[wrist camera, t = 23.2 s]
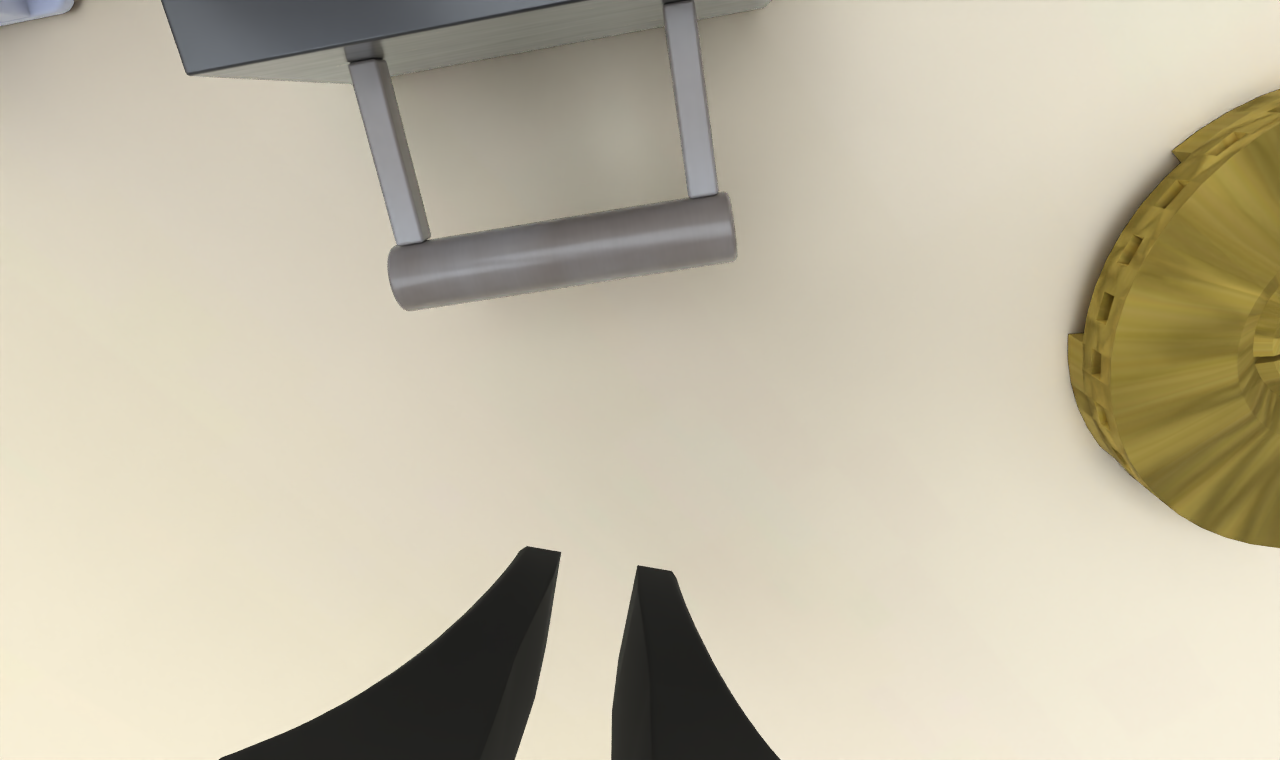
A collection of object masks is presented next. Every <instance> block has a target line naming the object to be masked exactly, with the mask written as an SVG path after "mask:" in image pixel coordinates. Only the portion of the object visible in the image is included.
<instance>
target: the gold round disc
mask: <svg viewBox="0 0 1280 760" xmlns="http://www.w3.org/2000/svg"><path fill="white" fill-rule="evenodd" d="M1172 152H1173V153H1174V155H1175V156H1176V157H1177V158H1178V160H1179V161H1180V162H1181V163H1180V164H1179V165H1178V166H1177V167H1176V168H1175V169H1174V170H1172V171H1171V172H1170V173H1169V174H1168V175H1167V176H1166V177H1165V178H1164V179H1163V180H1162V181H1161V183H1160V184H1159V185H1158V186H1157V187H1156V188H1155V189H1154V190H1153V192H1152V193H1151V194H1150V195H1149V196H1148V197H1147V198H1146V200H1145V201H1144V202H1143V203H1142V204H1141V206H1140V207H1139V208H1138V210H1137V211H1136V213H1135V214H1134V215H1133V217H1132V218H1131V220H1130V221H1129V223H1128V224H1127V225H1126V227H1125V228H1124V230H1123V231H1122V233H1121V234H1120V236H1119V238H1118V240H1117V242H1116V243H1115V245H1114V247H1113V249H1112V251H1111V252H1110V254H1109V256H1108V258H1107V260H1106V262H1105V264H1104V267H1103V269H1102V271H1101V274H1100V276H1099V278H1098V281H1097V283H1096V286H1095V288H1094V292H1093V295H1092V299H1091V302H1090V306H1089V309H1088V313H1087V317H1086V323H1085V330H1084V333H1077V334H1068V363H1069V371H1070V378H1071V385H1072V388H1073V392H1074V395H1075V399H1076V402H1077V406H1078V408H1079V410H1080V413H1081V415H1082V417H1083V419H1084V421H1085V423H1086V426H1087V428H1088V429H1089V431H1090V432H1091V434H1092V435H1093V437H1094V438H1095V440H1096V441H1097V443H1098V444H1099V446H1100V447H1102V448H1103V449H1104V450H1105V451H1106V452H1108V453H1109V454H1110V455H1111V456H1113V457H1114V458H1115V459H1116V460H1117V461H1118V462H1119V463H1120V465H1121V466H1122V467H1123V468H1124V469H1125V470H1126V471H1127V472H1128V473H1129V474H1130V475H1131V476H1132V477H1133V478H1134V479H1136V480H1137V481H1138V482H1139V483H1141V484H1142V485H1143V486H1144V487H1145V488H1147V489H1148V490H1149V491H1150V492H1151V493H1153V494H1154V495H1155V496H1156V497H1158V498H1159V499H1160V500H1161V501H1162V502H1164V503H1165V504H1166V505H1168V506H1169V507H1170V508H1171V509H1173V510H1174V511H1175V512H1176V513H1178V514H1179V515H1180V516H1182V517H1184V518H1186V519H1187V520H1189V521H1191V522H1192V523H1194V524H1196V525H1198V526H1199V527H1201V528H1204V529H1206V530H1208V531H1211V532H1213V533H1216V534H1218V535H1221V536H1223V537H1226V538H1230V539H1234V540H1237V541H1241V542H1245V543H1249V544H1254V545H1261V546H1268V547H1276V548H1280V89H1279V90H1276V91H1273V92H1270V93H1268V94H1265V95H1262V96H1260V97H1258V98H1256V99H1254V100H1252V101H1250V102H1247V103H1245V104H1243V105H1241V106H1239V107H1237V108H1235V109H1233V110H1231V111H1229V112H1227V113H1226V114H1224V115H1223V116H1221V117H1219V118H1218V119H1216V120H1214V121H1213V122H1211V123H1210V124H1208V125H1206V126H1205V127H1203V128H1202V129H1200V130H1199V131H1197V132H1196V133H1195V134H1193V135H1192V136H1191V137H1189V138H1188V139H1187V140H1185V141H1184V142H1183V143H1182V144H1180V145H1179V146H1178V147H1176V148H1175V149H1174V150H1172Z"/></svg>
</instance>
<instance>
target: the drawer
mask: <svg viewBox="0 0 1280 760" xmlns="http://www.w3.org/2000/svg"><path fill="white" fill-rule="evenodd" d="M771 1H772V0H161V2H162V5H163V8H164V10H165V13H166V16H167V19H168V22H169V25H170V28H171V31H172V34H173V37H174V40H175V43H176V46H177V49H178V51H179V54H180V57H181V60H182V63H183V66H184V69H185V72H186V74H187V75H189V76H200V77H220V78H240V79H260V80H280V81H300V82H320V83H340V84H353V87H354V91H355V94H356V98H357V102H358V105H359V109H360V112H361V116H362V120H363V123H364V127H365V131H366V134H367V138H368V142H369V145H370V149H371V153H372V156H373V160H374V164H375V167H376V171H377V175H378V178H379V182H380V186H381V189H382V193H383V197H384V200H385V204H386V208H387V211H388V215H389V219H390V222H391V226H392V230H393V233H394V237H395V241H396V244H397V245H396V246H394V247H393V248H391V250H390V252H389V255H388V276H389V281H390V285H391V289H392V292H393V294H394V297H395V299H396V301H397V302H398V304H399V305H400V306H401V308H403V309H404V310H406V311H416V310H423V309H429V308H436V307H442V306H449V305H455V304H462V303H468V302H475V301H481V300H488V299H494V298H501V297H507V296H514V295H520V294H527V293H533V292H540V291H546V290H553V289H559V288H566V287H572V286H579V285H585V284H592V283H598V282H605V281H611V280H618V279H624V278H631V277H637V276H644V275H650V274H657V273H663V272H670V271H676V270H683V269H689V268H696V267H703V266H709V265H716V264H722V263H729V262H734V261H735V260H736V259H737V243H736V234H735V226H734V218H733V212H732V206H731V201H730V197H729V195H728V193H727V192H720V193H718V191H719V189H718V181H717V173H716V165H715V157H714V149H713V141H712V133H711V125H710V117H709V109H708V101H707V94H706V86H705V78H704V70H703V62H702V54H701V46H700V38H699V30H698V22H697V20H701V19H707V18H712V17H717V16H723V15H728V14H734V13H739V12H745V11H750V10H755V9H761V8H764V7H766V6H767V5H768V4H769V3H770V2H771ZM663 26H665V33H666V40H667V47H668V54H669V61H670V69H671V76H672V83H673V90H674V97H675V104H676V111H677V119H678V126H679V133H680V140H681V147H682V154H683V162H684V169H685V176H686V183H687V190H688V196H689V198H683V199H676V200H670V201H664V202H658V203H652V204H646V205H640V206H633V207H627V208H621V209H615V210H609V211H603V212H596V213H590V214H584V215H578V216H572V217H566V218H560V219H553V220H547V221H541V222H535V223H529V224H523V225H516V226H510V227H504V228H498V229H492V230H486V231H480V232H473V233H467V234H461V235H455V236H449V237H443V238H436V239H430V240H427V239H429V238H430V237H431V233H430V229H429V225H428V221H427V217H426V213H425V209H424V205H423V201H422V198H421V194H420V190H419V186H418V182H417V178H416V174H415V170H414V166H413V162H412V159H411V155H410V151H409V147H408V143H407V139H406V135H405V131H404V127H403V124H402V120H401V116H400V112H399V108H398V104H397V100H396V96H395V92H394V88H393V85H392V81H391V77H392V76H397V75H403V74H408V73H414V72H419V71H425V70H430V69H435V68H441V67H446V66H452V65H457V64H463V63H468V62H473V61H479V60H484V59H490V58H495V57H500V56H506V55H511V54H517V53H522V52H528V51H533V50H538V49H544V48H549V47H555V46H560V45H566V44H571V43H576V42H582V41H587V40H593V39H598V38H604V37H609V36H614V35H620V34H625V33H631V32H636V31H641V30H647V29H652V28H658V27H663Z"/></svg>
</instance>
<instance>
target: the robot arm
mask: <svg viewBox="0 0 1280 760" xmlns="http://www.w3.org/2000/svg"><path fill="white" fill-rule="evenodd" d="M73 5H74V0H0V26H3V25H8V24H13V23H18V22H23V21H28V20H33V19H38V18H43V17H48V16H53V15H58V14H63V13H65V12H67V11H69V10H70V9H71V7H72V6H73ZM560 556H561V552H558V551H552V550H546V549H540V548H534V547H529V546H527V547H525V548H523V549H522V550H520V551H519V553H518V554H517V556H516V557H515V559H514V560H513V561H512V563H511V564H510V565H509V566H508V568H507V569H506V570H505V571H504V573H503V574H502V575H501V576H500V577H499V578H498V579H497V581H496V582H495V583H494V584H493V585H492V586H491V587H490V588H489V590H488V591H487V592H486V593H485V594H484V595H483V596H482V597H481V598H480V599H479V600H478V601H477V602H476V603H475V604H474V605H473V606H472V607H471V608H470V609H469V610H468V611H467V612H466V613H465V614H464V615H463V616H462V617H461V618H460V619H458V620H457V621H456V622H455V623H454V624H453V625H452V626H451V627H450V628H448V629H447V630H446V631H445V632H444V633H443V634H442V635H441V636H440V637H438V638H437V639H436V640H435V641H434V642H432V643H431V644H430V645H429V646H428V647H426V648H425V649H424V650H423V651H421V652H420V653H419V654H417V655H416V656H415V657H413V658H412V659H411V660H409V661H408V662H407V663H405V664H404V665H403V666H401V667H400V668H399V669H397V670H396V671H394V672H393V673H391V674H390V675H388V676H387V677H385V678H384V679H382V680H381V681H379V682H378V683H376V684H374V685H373V686H371V687H370V688H368V689H367V690H365V691H364V692H362V693H360V694H359V695H357V696H355V697H354V698H352V699H350V700H349V701H347V702H345V703H343V704H341V705H340V706H338V707H336V708H334V709H332V710H330V711H328V712H326V713H324V714H322V715H320V716H319V717H317V718H315V719H313V720H311V721H309V722H307V723H304V724H302V725H300V726H298V727H296V728H294V729H292V730H289V731H287V732H285V733H283V734H280V735H278V736H275V737H273V738H270V739H268V740H265V741H263V742H260V743H258V744H255V745H253V746H250V747H248V748H245V749H243V750H240V751H238V752H235V753H233V754H230V755H227V756H224V757H222V758H220V759H219V760H515V757H516V754H517V751H518V748H519V745H520V742H521V739H522V736H523V733H524V730H525V727H526V724H527V720H528V717H529V714H530V711H531V708H532V705H533V702H534V699H535V695H536V690H537V685H538V681H539V676H540V671H541V667H542V662H543V657H544V653H545V648H546V643H547V636H548V630H549V624H550V618H551V612H552V605H553V599H554V593H555V587H556V580H557V574H558V568H559V562H560ZM611 760H780V759H779V757H778V756H777V755H776V754H775V753H774V752H773V751H772V749H771V748H770V747H769V746H768V745H767V743H766V742H765V741H764V739H763V738H762V737H761V736H760V734H759V733H758V732H757V730H756V729H755V727H754V726H753V725H752V723H751V722H750V720H749V719H748V718H747V716H746V715H745V713H744V712H743V710H742V709H741V707H740V706H739V704H738V703H737V701H736V700H735V698H734V697H733V695H732V694H731V692H730V690H729V689H728V687H727V685H726V684H725V682H724V680H723V678H722V677H721V675H720V673H719V672H718V670H717V668H716V666H715V664H714V663H713V661H712V659H711V657H710V655H709V653H708V651H707V649H706V647H705V645H704V643H703V641H702V639H701V637H700V635H699V633H698V631H697V629H696V627H695V625H694V622H693V620H692V618H691V616H690V613H689V611H688V609H687V606H686V604H685V601H684V599H683V596H682V593H681V591H680V588H679V585H678V582H677V578H676V577H675V575H674V574H673V572H672V571H668V570H662V569H656V568H650V567H645V566H639V565H638V566H637V571H636V576H635V580H634V585H633V590H632V595H631V600H630V605H629V610H628V615H627V620H626V625H625V629H624V634H623V639H622V644H621V649H620V654H619V659H618V667H617V675H616V683H615V692H614V700H613V708H612V752H611Z"/></svg>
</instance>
